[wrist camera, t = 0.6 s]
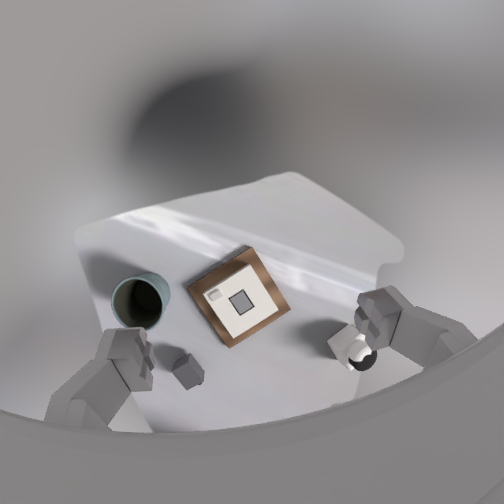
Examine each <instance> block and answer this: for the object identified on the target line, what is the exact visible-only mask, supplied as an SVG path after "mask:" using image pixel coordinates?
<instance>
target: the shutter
mask: <svg viewBox="0 0 504 504" xmlns="http://www.w3.org/2000/svg"><path fill="white" fill-rule="evenodd" d="M230 300H231V301H232V303H233V304H234V306H235V307H236V309H237V310H238V312H239V313H240V314H242V313H243V312H245V311H247V310H248V309H250V308H251V307H253V306H252V304H251V303H250V301H249V300H248V298H247V296H246V295H245V293H244V292H243V290H242V291H240V292H239V293H237V294H236V295H234V296H233V297H231V298H230Z"/></svg>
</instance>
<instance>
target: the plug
mask: <svg viewBox="0 0 504 504" xmlns="http://www.w3.org/2000/svg"><path fill="white" fill-rule="evenodd" d="M171 372H172V373H173V374H174V375H175V377H176V378H177V379H178V380H179V382H180V383H181V384H182V385H183V386H184V388H185V389H186V390H189V389H190V388H192V387H194V386H196V385H201V384H202V382H204V370H203V369H202V368H201V366H200V365H199V364H198V362H197V361H196V360H195V359H194V357H193V356H192V355H191V353H189V354H188V355H186V356H184V357H182V358H181V359H179V360H177V361H175V362H174V365H173V368H172V371H171Z"/></svg>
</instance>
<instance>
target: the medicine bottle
mask: <svg viewBox="0 0 504 504" xmlns="http://www.w3.org/2000/svg"><path fill="white" fill-rule="evenodd" d="M327 343H328V345H329V346H330V348H331V350H332V351H333V353H334V355H335V356H336V358H337V359H338V361H339V362H340V363H342V364H343V365H344V366H345V367H346V368H347V369H348V370H349V371H351V370H352V369H354V368H355V369H356V370H358V371H365V370H367V369H369V368H371V367H372V365H373V364H374V363H375V361H376V358H377V351H376V350H375V351H371V349H370V348H369V346H368V345H367V343H366V342H365V335H363V334H361V333H359V331H358V330H357V328H355V327H354V326H352V325H350V324H348V325H347V326H345V327H344V328H343V329H341V330H340V331H339V332H338V333H336V334H335V335H334V336H332V337H331V338H330V339H328V340H327Z"/></svg>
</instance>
